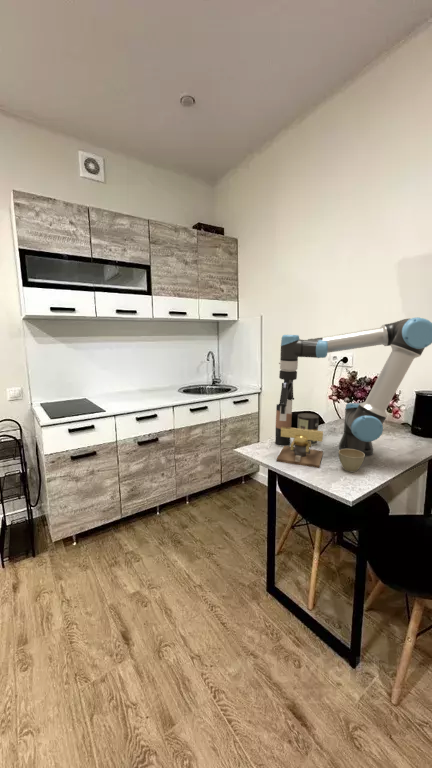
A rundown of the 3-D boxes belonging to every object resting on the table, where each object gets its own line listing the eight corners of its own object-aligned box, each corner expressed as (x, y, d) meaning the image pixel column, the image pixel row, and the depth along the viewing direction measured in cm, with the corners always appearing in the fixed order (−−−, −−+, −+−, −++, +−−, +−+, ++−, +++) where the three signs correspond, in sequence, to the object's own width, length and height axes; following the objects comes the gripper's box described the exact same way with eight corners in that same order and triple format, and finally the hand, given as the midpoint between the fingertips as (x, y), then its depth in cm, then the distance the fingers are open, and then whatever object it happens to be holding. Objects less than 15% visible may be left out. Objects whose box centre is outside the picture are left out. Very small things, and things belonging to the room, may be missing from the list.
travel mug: (290, 446, 163) (292, 407, 160) (274, 445, 165) (276, 406, 161) (290, 441, 170) (292, 403, 167) (275, 440, 172) (276, 402, 169)
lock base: (322, 453, 155) (323, 441, 154) (319, 468, 138) (319, 454, 137) (284, 447, 161) (284, 436, 160) (276, 461, 145) (276, 448, 144)
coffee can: (317, 440, 173) (319, 414, 171) (316, 446, 163) (318, 419, 161) (297, 438, 176) (298, 412, 174) (295, 444, 167) (296, 417, 164)
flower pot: (338, 463, 144) (339, 447, 143) (363, 466, 140) (364, 450, 139) (336, 472, 135) (338, 455, 133) (363, 476, 131) (365, 459, 130)
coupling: (322, 448, 149) (323, 429, 148) (320, 454, 142) (322, 434, 141) (282, 442, 156) (283, 424, 155) (279, 448, 149) (279, 429, 147)
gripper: (285, 366, 159) (282, 409, 162) (273, 372, 136) (271, 422, 139) (301, 367, 156) (298, 411, 159) (292, 374, 133) (289, 425, 137)
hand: (285, 417), depth 149 cm, fingers open, 13 cm apart
